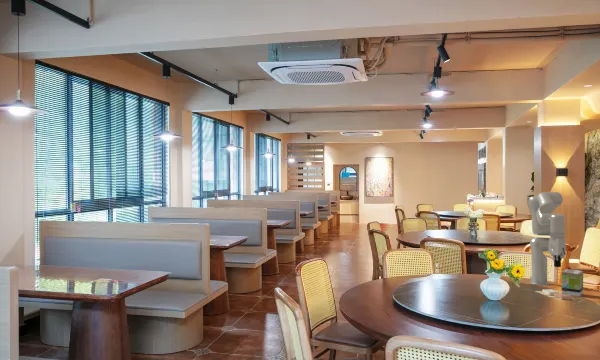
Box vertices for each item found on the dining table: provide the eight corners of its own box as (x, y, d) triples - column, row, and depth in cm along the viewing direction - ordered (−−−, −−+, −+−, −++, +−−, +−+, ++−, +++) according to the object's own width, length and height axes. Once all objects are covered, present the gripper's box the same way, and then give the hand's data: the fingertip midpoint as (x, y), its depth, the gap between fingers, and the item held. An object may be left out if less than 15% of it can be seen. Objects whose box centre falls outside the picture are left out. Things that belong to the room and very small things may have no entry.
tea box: (580, 298, 268) (580, 273, 269) (561, 296, 274) (561, 271, 275) (583, 294, 280) (583, 270, 281) (564, 292, 286) (564, 268, 287)
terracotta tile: (553, 293, 267) (561, 296, 260) (563, 293, 268) (571, 296, 261) (553, 296, 267) (561, 299, 260) (563, 296, 268) (571, 299, 261)
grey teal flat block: (542, 289, 278) (549, 291, 271) (551, 289, 279) (559, 291, 272) (542, 292, 278) (549, 295, 271) (551, 292, 278) (559, 295, 271)
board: (534, 293, 282) (534, 291, 282) (551, 293, 283) (551, 291, 283) (557, 301, 260) (557, 299, 260) (575, 301, 261) (575, 299, 261)
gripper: (543, 234, 276) (543, 264, 276) (559, 237, 261) (559, 269, 261) (555, 234, 277) (555, 264, 277) (572, 237, 262) (572, 269, 262)
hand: (557, 266), depth 269 cm, fingers closed
